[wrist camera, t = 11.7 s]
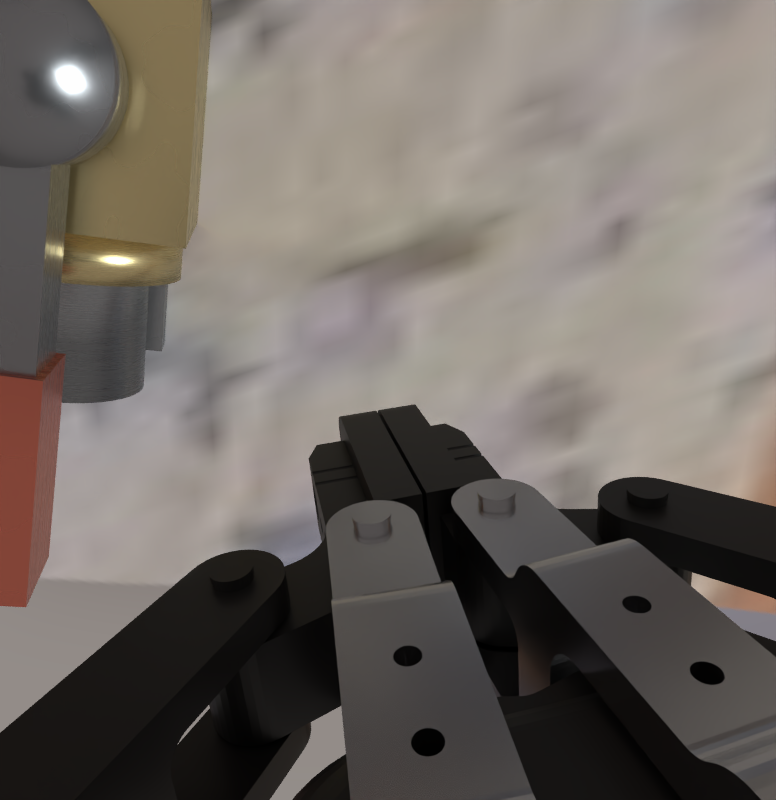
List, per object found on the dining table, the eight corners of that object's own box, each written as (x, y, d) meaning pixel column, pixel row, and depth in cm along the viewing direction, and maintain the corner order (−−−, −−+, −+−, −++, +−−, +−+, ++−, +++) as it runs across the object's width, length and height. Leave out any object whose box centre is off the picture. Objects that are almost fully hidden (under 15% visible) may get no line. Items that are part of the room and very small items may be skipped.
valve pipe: (-21, -248, 20) (-169, -498, 12) (225, -177, 22) (226, -357, 14) (-11, 348, 25) (-111, 426, 18) (186, 365, 27) (172, 443, 19)
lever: (-60, -50, 15) (-111, -89, 12) (137, 5, 16) (123, -21, 13) (-76, 548, 19) (-117, 600, 16) (82, 558, 20) (64, 608, 17)
